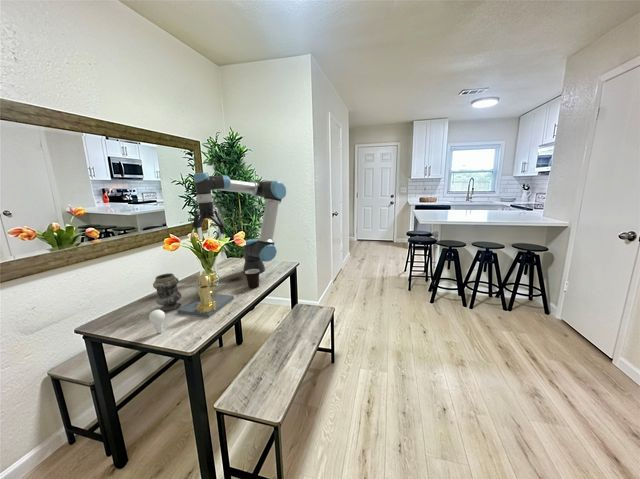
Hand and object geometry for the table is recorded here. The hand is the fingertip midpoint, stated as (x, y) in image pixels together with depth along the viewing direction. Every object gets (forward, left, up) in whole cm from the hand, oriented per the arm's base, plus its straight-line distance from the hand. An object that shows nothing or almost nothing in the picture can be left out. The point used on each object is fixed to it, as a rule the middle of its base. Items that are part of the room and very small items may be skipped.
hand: (211, 239), depth 155 cm
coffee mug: (-13, +17, -33) cm, 39 cm away
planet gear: (+23, +11, -30) cm, 40 cm away
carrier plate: (+17, +5, -32) cm, 37 cm away
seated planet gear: (+10, 0, -30) cm, 32 cm away
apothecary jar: (+23, -13, -33) cm, 42 cm away
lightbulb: (+44, +2, -33) cm, 54 cm away
